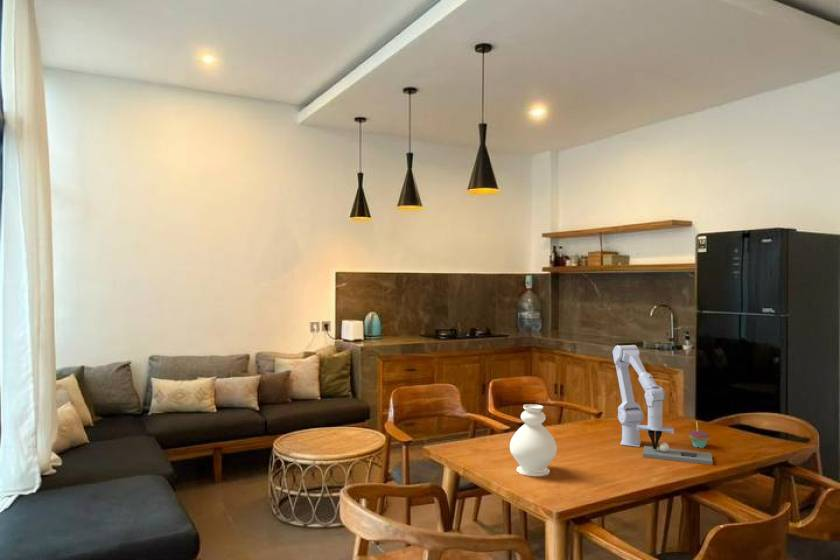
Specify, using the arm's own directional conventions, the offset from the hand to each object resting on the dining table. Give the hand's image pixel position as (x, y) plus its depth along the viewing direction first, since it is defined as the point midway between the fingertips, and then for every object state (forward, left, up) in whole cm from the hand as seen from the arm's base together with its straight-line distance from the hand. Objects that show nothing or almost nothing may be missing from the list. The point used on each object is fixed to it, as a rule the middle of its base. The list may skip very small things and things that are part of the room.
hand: (655, 448), depth 248 cm
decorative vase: (+41, -43, -3) cm, 59 cm away
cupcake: (-21, +17, -3) cm, 27 cm away
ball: (0, +3, +1) cm, 4 cm away
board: (0, +8, -2) cm, 9 cm away
